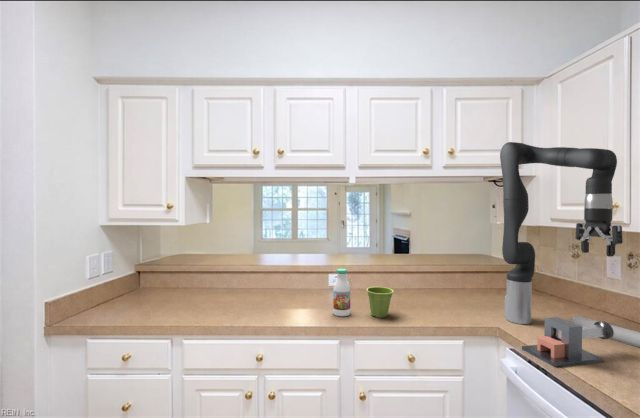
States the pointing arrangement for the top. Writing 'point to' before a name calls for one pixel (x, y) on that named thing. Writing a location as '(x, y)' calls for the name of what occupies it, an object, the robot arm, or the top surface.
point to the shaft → (594, 331)
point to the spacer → (551, 346)
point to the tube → (619, 333)
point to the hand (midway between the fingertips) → (597, 254)
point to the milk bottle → (341, 294)
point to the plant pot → (379, 300)
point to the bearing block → (572, 344)
